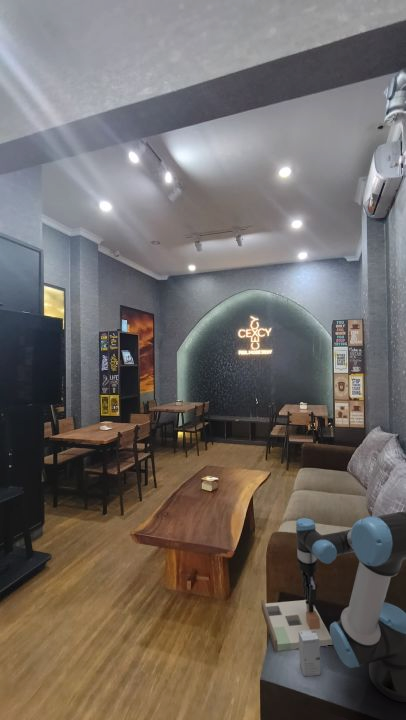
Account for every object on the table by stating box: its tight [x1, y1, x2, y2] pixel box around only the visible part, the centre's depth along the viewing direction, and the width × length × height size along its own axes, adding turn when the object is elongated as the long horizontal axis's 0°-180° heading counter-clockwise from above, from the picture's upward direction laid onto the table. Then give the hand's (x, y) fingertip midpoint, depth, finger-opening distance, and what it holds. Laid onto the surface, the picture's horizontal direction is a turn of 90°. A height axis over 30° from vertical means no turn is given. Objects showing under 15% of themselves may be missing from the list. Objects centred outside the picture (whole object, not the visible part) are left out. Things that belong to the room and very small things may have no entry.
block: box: [306, 611, 320, 629], centre depth 137 cm, size 4×4×4 cm
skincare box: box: [298, 630, 321, 677], centre depth 120 cm, size 6×4×12 cm
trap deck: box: [260, 599, 334, 652], centre depth 140 cm, size 22×22×4 cm
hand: (310, 617), depth 140 cm, fingers closed
